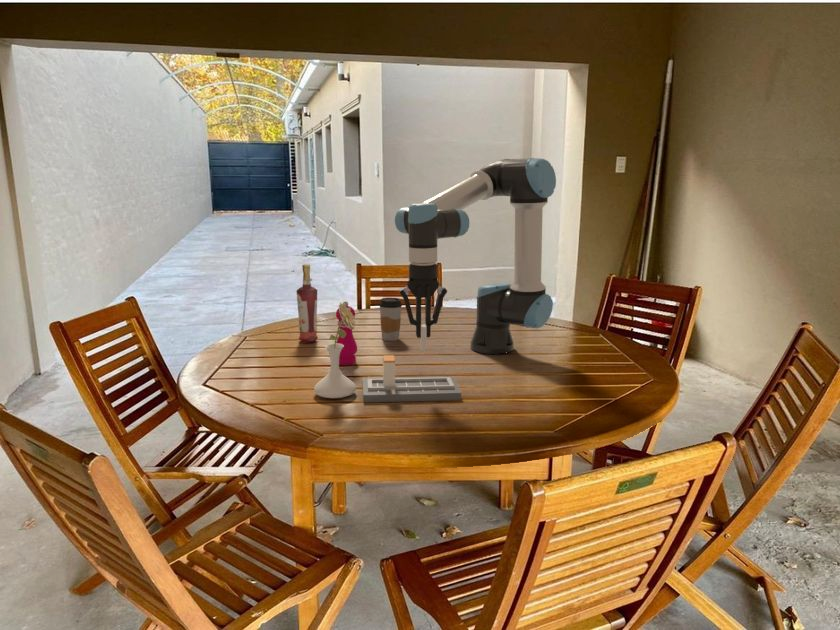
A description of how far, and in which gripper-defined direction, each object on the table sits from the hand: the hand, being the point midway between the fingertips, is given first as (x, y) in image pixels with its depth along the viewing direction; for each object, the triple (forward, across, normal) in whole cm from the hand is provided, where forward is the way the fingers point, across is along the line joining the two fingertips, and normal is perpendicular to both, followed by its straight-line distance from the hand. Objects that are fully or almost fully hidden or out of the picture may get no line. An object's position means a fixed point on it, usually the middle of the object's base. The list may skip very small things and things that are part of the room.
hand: (423, 348), depth 157 cm
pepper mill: (+13, +22, -28) cm, 38 cm away
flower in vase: (+12, +24, +1) cm, 27 cm away
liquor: (+13, +36, -54) cm, 66 cm away
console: (+12, +4, +1) cm, 13 cm away
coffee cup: (+13, +6, -56) cm, 58 cm away
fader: (+10, +10, +1) cm, 14 cm away
